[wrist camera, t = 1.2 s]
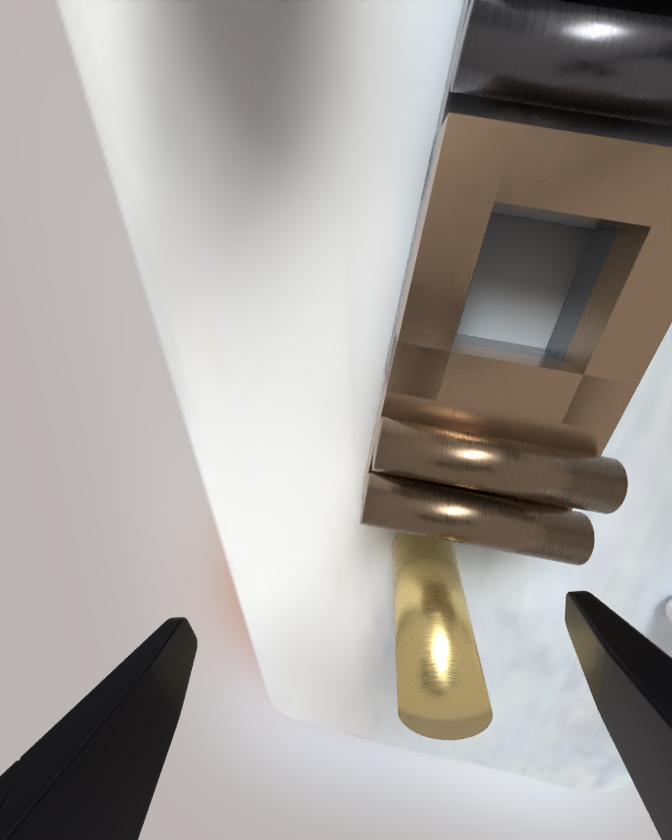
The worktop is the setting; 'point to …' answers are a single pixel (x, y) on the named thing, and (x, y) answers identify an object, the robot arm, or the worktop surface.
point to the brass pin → (435, 643)
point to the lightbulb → (669, 609)
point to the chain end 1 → (562, 99)
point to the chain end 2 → (514, 372)
